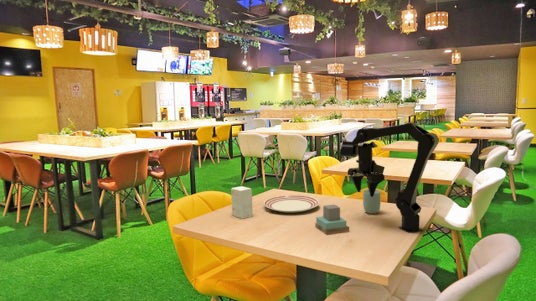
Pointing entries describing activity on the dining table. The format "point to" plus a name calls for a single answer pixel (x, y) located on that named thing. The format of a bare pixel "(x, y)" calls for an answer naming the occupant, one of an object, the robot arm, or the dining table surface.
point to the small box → (241, 202)
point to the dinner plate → (291, 203)
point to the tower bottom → (332, 231)
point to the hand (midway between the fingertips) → (365, 194)
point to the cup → (371, 201)
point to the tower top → (330, 223)
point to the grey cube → (331, 212)
